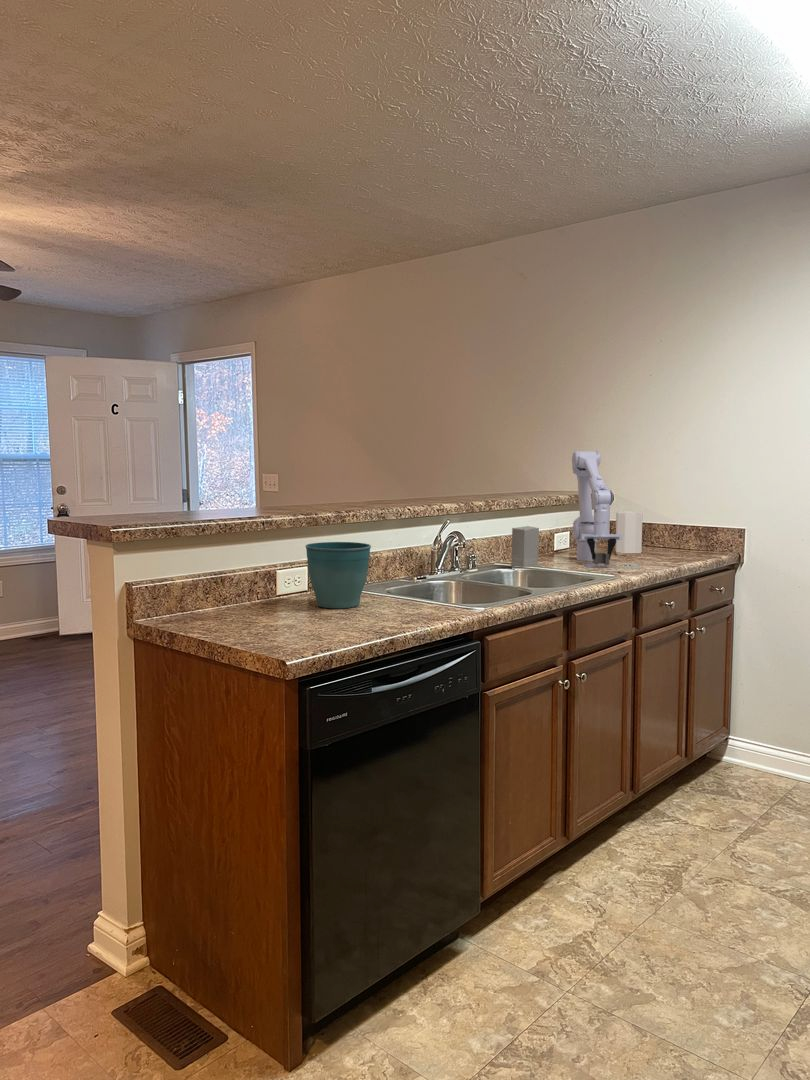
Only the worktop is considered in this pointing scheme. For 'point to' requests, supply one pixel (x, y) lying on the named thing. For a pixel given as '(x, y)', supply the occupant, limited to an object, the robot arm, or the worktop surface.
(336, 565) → the flower pot
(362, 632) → the worktop surface
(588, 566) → the rail board
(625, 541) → the white upright block
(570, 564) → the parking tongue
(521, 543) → the skincare box
